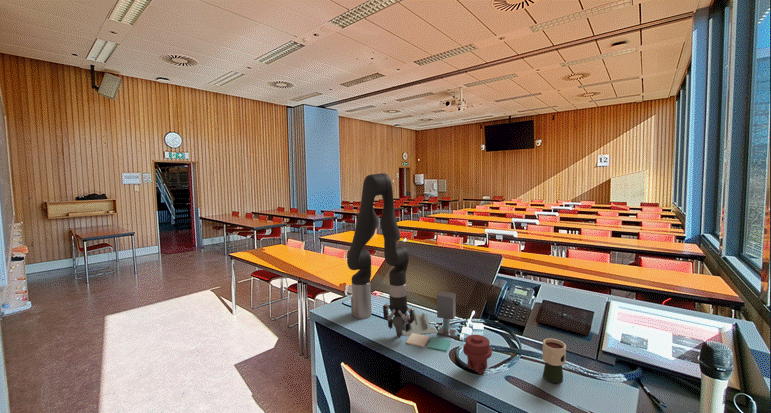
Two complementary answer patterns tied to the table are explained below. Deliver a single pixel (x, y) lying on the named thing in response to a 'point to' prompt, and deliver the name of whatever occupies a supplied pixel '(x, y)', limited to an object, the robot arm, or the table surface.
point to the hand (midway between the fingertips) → (399, 329)
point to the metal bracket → (419, 325)
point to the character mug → (553, 359)
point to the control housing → (446, 312)
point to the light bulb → (398, 324)
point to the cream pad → (417, 339)
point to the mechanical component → (477, 352)
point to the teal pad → (439, 344)
